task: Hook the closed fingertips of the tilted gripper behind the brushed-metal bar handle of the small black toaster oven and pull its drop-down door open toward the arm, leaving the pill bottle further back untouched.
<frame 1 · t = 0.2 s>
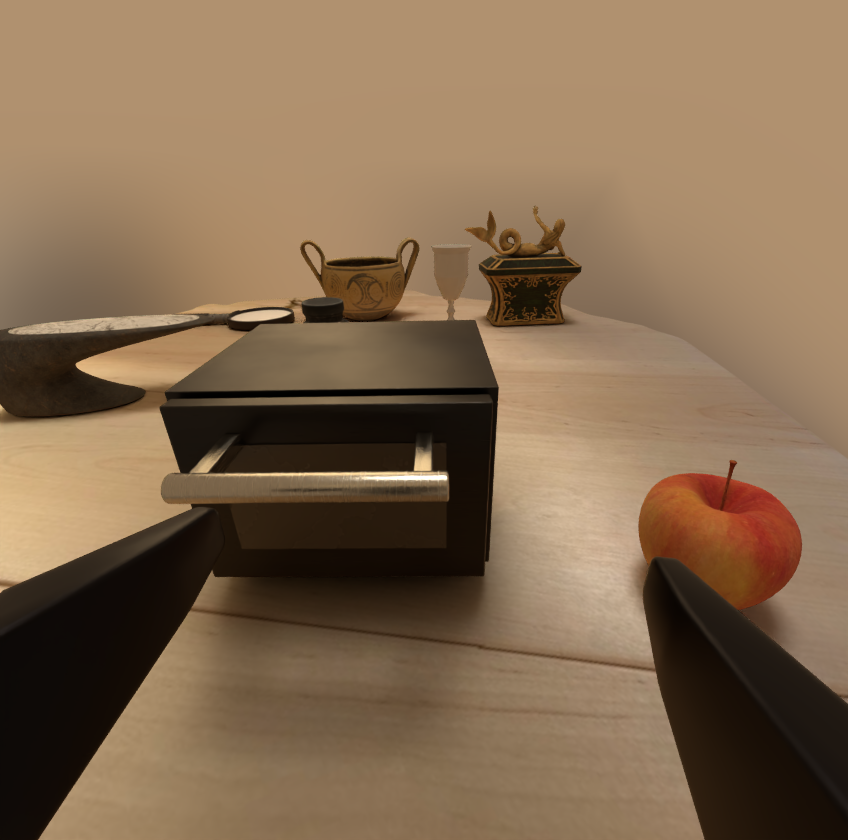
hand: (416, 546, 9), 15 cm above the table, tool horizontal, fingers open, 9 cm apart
coffee table: (125, 399, 54), on the table
magnifying glass: (234, 324, 87), on the table
ceramic bowl: (366, 318, 89), on the table
oven door: (330, 522, 20), point 8 cm above the table, hinge at 0.0°
chalice: (450, 347, 70), on the table
apple: (692, 590, 26), on the table
pill bottle: (333, 391, 55), on the table
decorative box: (515, 321, 84), on the table
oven: (369, 517, 32), on the table
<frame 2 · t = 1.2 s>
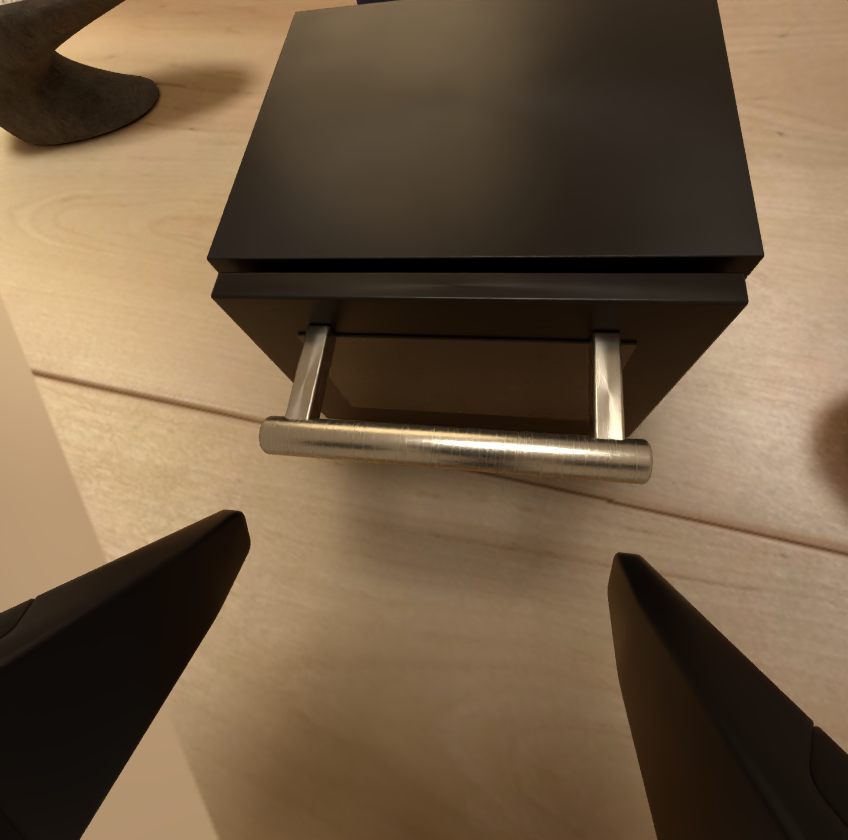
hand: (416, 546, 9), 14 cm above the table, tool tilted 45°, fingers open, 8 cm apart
coffee table: (139, 103, 41), on the table
oven door: (458, 422, 17), point 8 cm above the table, hinge at 0.0°
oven: (481, 321, 27), on the table
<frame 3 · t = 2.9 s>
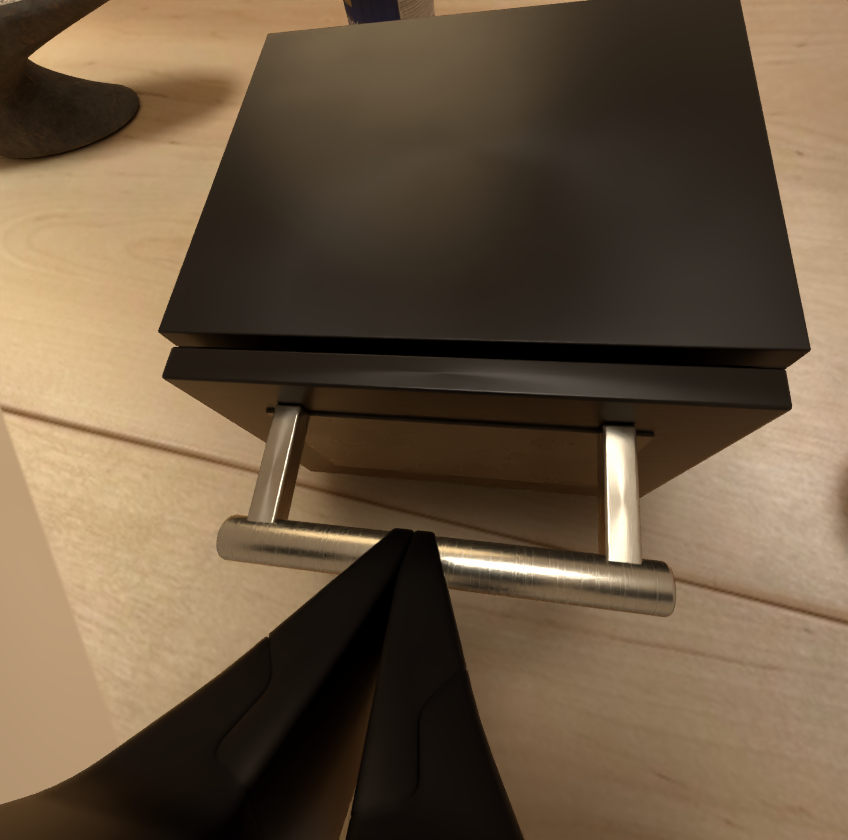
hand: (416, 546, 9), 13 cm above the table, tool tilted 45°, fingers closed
coffee table: (119, 114, 39), on the table
oven door: (449, 501, 15), point 8 cm above the table, hinge at 0.0°
pill bottle: (402, 80, 35), on the table
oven: (477, 358, 25), on the table
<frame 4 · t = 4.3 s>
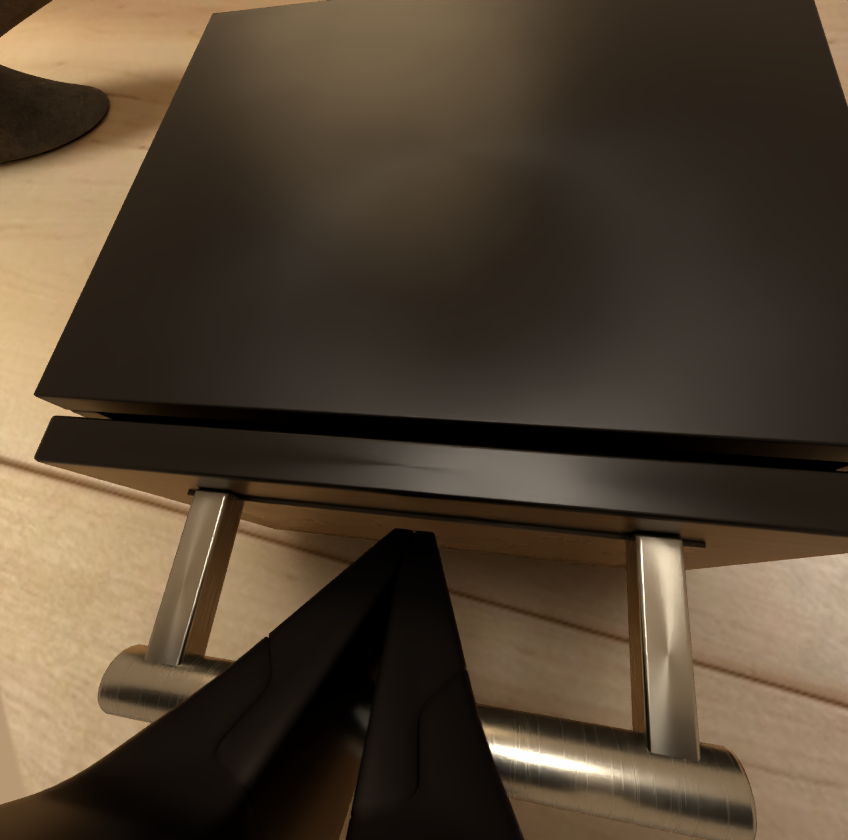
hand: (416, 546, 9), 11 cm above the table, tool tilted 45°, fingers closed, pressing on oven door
coffee table: (87, 117, 36), on the table
oven door: (430, 597, 12), point 8 cm above the table, hinge at 0.0°, touching gripper
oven: (471, 392, 22), on the table
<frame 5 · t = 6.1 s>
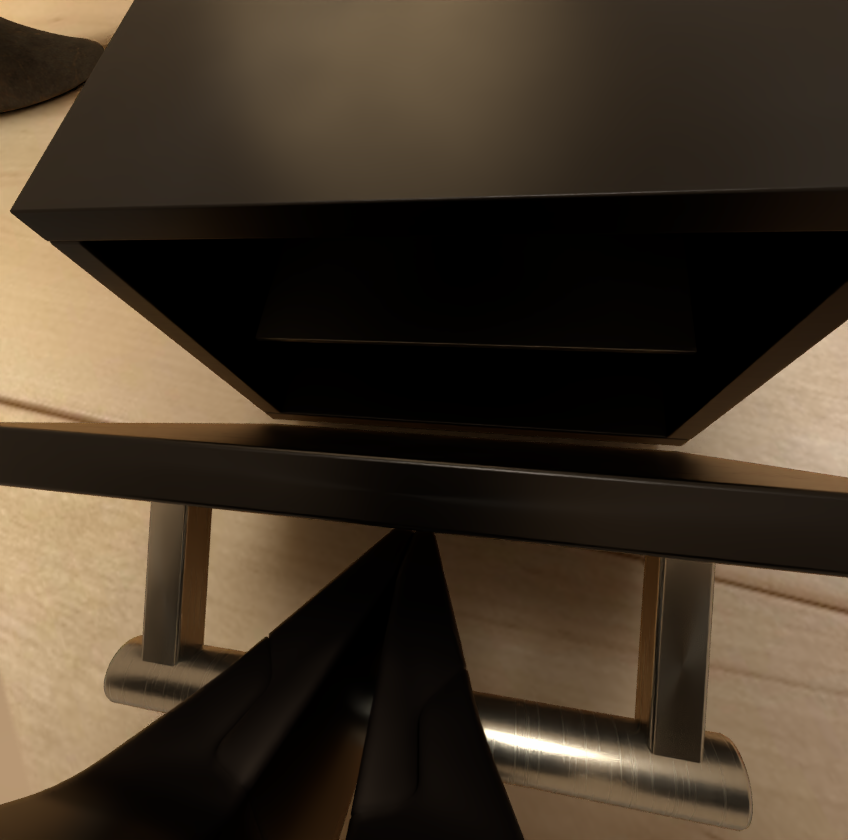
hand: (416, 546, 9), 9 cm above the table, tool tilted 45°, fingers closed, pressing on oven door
coffee table: (83, 69, 35), on the table
oven door: (431, 546, 11), point 7 cm above the table, hinge at 20.7°, touching gripper
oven: (475, 320, 21), on the table
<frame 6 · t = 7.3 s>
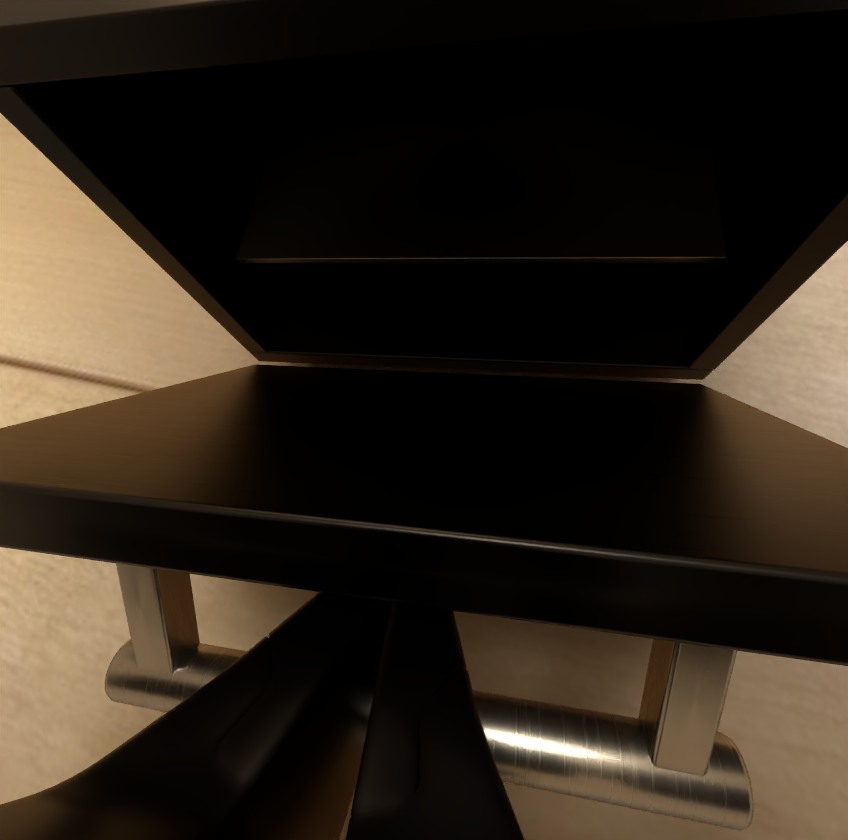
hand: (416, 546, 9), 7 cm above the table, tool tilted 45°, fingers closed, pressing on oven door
oven door: (430, 517, 11), point 6 cm above the table, hinge at 35.6°, touching gripper
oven: (477, 262, 20), on the table
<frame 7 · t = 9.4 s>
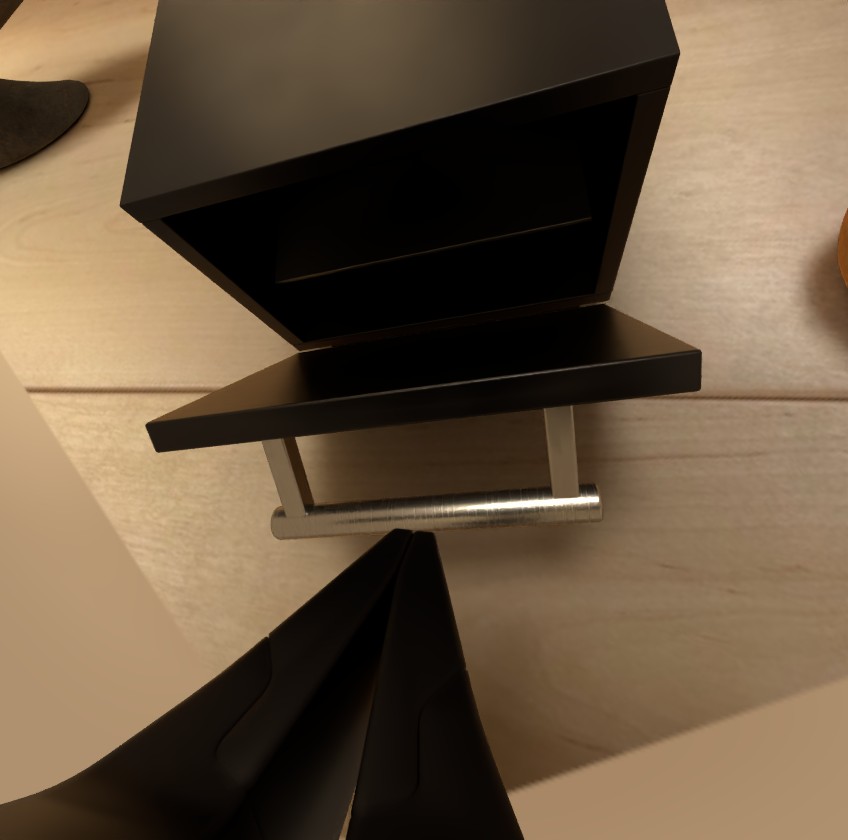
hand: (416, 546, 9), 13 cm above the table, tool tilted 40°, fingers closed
coffee table: (73, 108, 40), on the table
oven door: (431, 419, 17), point 5 cm above the table, hinge at 35.9°
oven: (442, 245, 26), on the table
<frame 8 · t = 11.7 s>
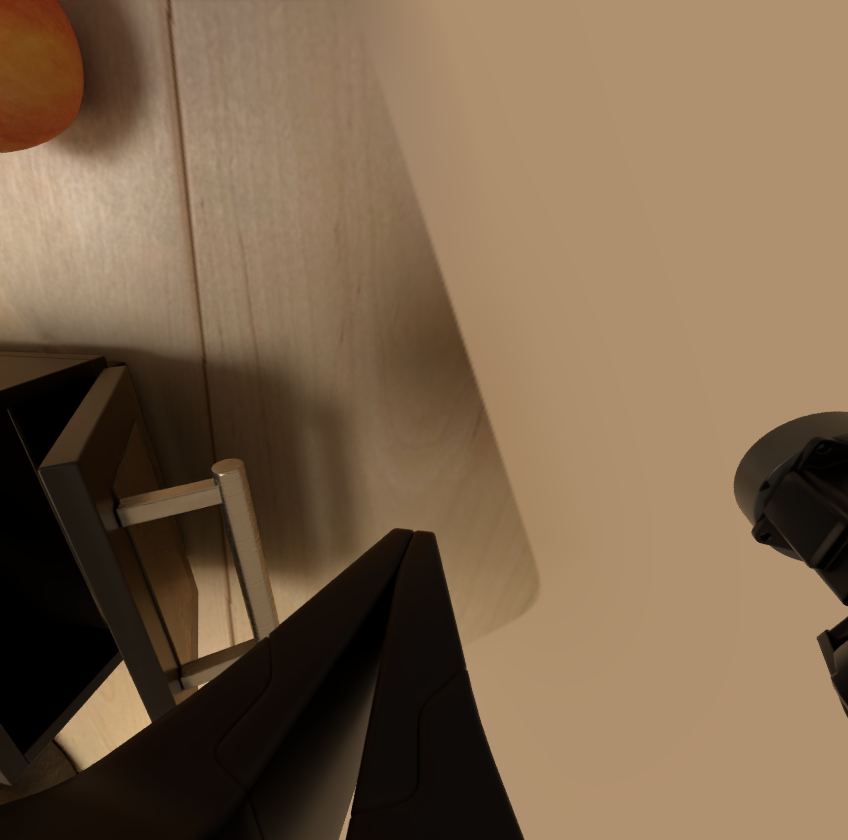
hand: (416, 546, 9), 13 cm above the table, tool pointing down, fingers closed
coffee table: (11, 715, 47), on the table
oven door: (200, 540, 21), point 5 cm above the table, hinge at 35.9°
apple: (57, 65, 19), on the table
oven: (85, 462, 28), on the table
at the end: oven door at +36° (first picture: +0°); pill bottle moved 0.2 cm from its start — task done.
